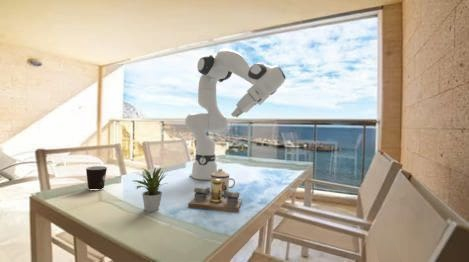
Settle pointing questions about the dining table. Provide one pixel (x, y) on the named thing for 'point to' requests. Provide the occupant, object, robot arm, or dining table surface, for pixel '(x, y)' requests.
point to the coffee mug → (96, 177)
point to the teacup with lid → (225, 178)
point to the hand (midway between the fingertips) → (233, 116)
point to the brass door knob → (216, 190)
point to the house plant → (151, 190)
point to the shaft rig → (204, 202)
